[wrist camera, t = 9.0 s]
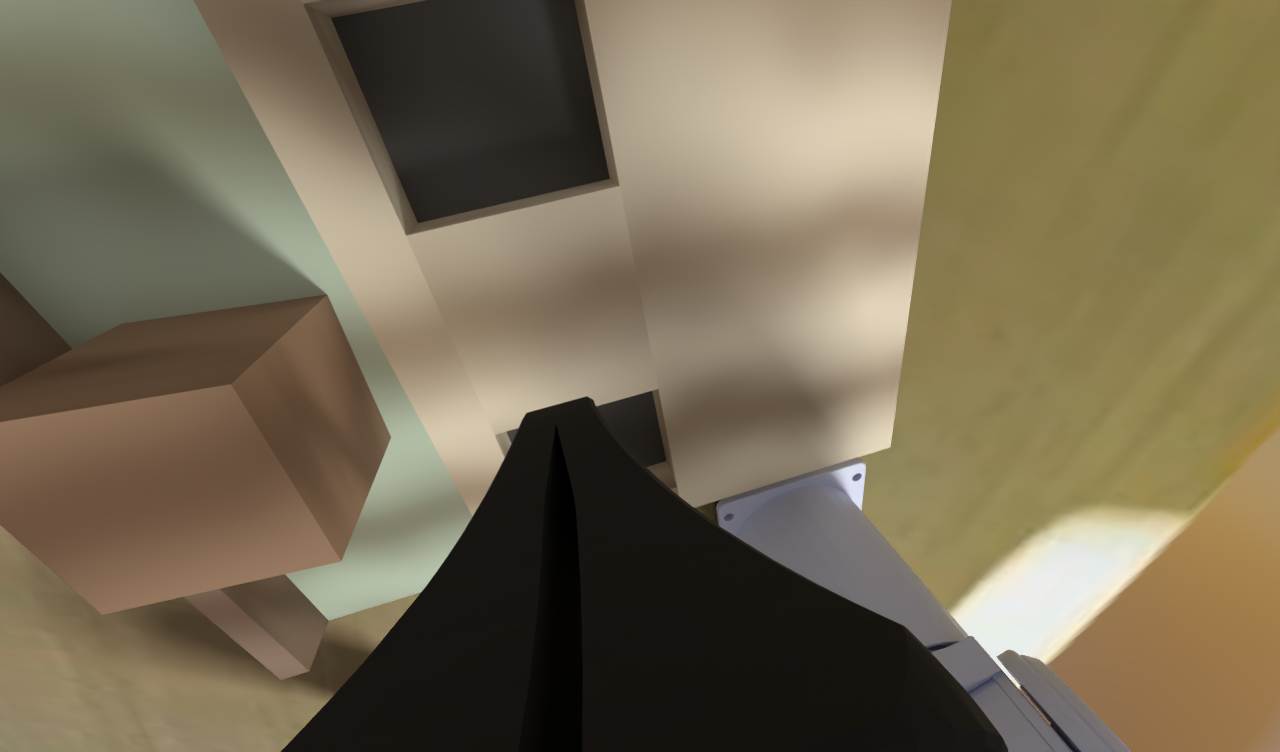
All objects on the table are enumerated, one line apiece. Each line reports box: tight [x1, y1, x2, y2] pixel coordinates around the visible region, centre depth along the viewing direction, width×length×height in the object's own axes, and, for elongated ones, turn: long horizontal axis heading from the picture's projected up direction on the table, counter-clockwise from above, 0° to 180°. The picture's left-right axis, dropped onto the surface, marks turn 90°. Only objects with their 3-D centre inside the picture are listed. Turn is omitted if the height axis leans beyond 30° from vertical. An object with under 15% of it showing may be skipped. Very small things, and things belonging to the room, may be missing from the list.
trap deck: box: [0, 0, 952, 680], centre depth 15 cm, size 20×26×4 cm
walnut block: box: [0, 295, 391, 615], centre depth 12 cm, size 5×5×5 cm
